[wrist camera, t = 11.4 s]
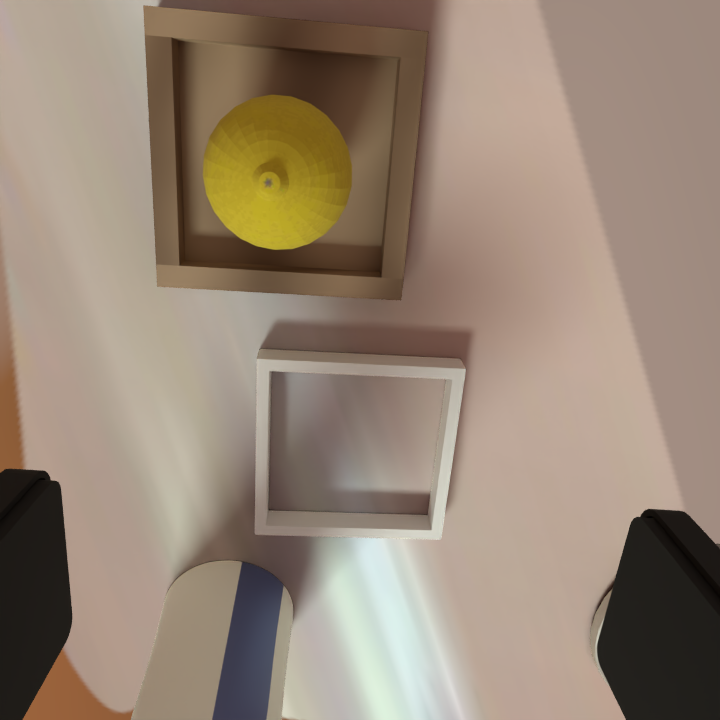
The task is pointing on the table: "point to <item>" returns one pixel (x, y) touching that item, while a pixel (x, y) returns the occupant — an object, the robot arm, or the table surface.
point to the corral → (357, 522)
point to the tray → (310, 84)
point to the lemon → (277, 172)
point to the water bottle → (219, 647)
